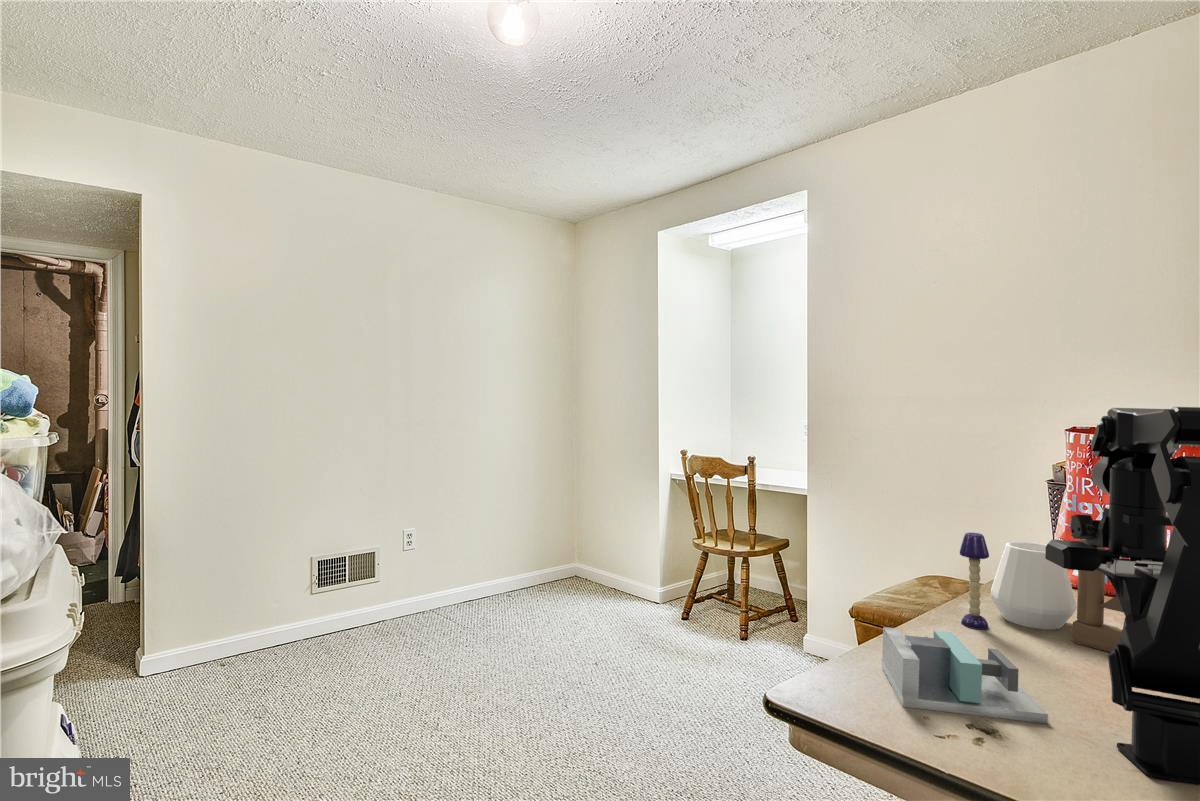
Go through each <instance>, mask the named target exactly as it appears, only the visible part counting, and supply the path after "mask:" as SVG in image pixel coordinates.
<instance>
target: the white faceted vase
mask: <svg viewBox="0 0 1200 801" xmlns="http://www.w3.org/2000/svg"><path fill="white" fill-rule="evenodd" d="M1046 546H1047V544H1044V543H1040V542H1039V543H1038V542H1032V541H1030V542H1029V541H1010V542H1009V541H1008V542H1005V546H1004V550H1003V552H1002V555H1001V557H1000V562H999V563H998V568H997V570H996V573H995V577H994V578H993V582H992V585H991V587H990V588H991V590H990V595H991V599H992V601H993V603H994V604H995V606H996V608H997V610H998V611H999V613H1000V614H1001V616H1002V618H1004V619H1005V620H1007V621H1009V622H1010V623H1013V624H1016V625H1020V626H1023V627H1027V628H1032V629H1036V630H1052V631H1053V630H1059V629H1061V628H1063V626H1064V625H1065V624H1066V623H1067V622H1068V621H1069V619H1070V618H1071V617H1072V616H1073V615H1074V613H1076V612H1077V602H1076V597H1075V595H1074V591H1073V587H1072V583H1071V579H1070V577H1069V576H1070V575H1069V572H1068V569H1065V568H1062V567H1060V566H1059V565H1057V564H1055V563H1053V562H1051V561H1049V560H1047V559H1045V553H1046Z"/></svg>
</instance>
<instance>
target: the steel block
mask: <svg viewBox="0 0 1200 801" xmlns="http://www.w3.org/2000/svg"><path fill="white" fill-rule="evenodd" d="M904 638H905V640H906V641H907V643H908V644H909V646H910V647H911V649H912V650H913V651H914V653H915V654H916V656H917V657H918V659H919V685H923V686H932V687H941V688H950V656H951V648H950V647H949V646H948V645H947V643H946V642H945V641H944V640H943V639H938V638H934V637H926V636H918V635H916V636H914V635H904Z"/></svg>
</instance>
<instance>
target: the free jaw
mask: <svg viewBox="0 0 1200 801" xmlns="http://www.w3.org/2000/svg"><path fill="white" fill-rule="evenodd" d="M933 638H938V639H943V640H944V641H945V642H946V643H947V645H948V646H949V647H950V648H951V656H950V688H951V689H952V691H953V692H954V694H955V695H956V696H957V698H958V699H959V700H960V701H965V702H974V703H981V689H982V675H986V676H994V677H995V678H996V679H997V680H998V681H999V682H1000V683H1001V684H1002V685H1003V686H1004V687H1005V688H1006V690H1007V691H1014V692H1018V684H1019V668H1018V667H1017V666H1016V665H1015V664H1014V663H1013V662H1012V661H1010V659H1008V657H1006V656H1005V655H1004V654H1003V653H1002V651H1000V649H998V648H992V647H991V648H990V647H989V648H988V647H987V648H988V650H987V659H984V658H983V659H982V658H976V656H975V655H974V654H973V652H971V651H970V650H969V649H968V648H967V646H966V645H964V643H963V642H962V641H961V640H960V639H959V638H958V637H957V636H956V635H955V634H954V633H953V632H952V631H946V630H945V631H944V630H933Z"/></svg>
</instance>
